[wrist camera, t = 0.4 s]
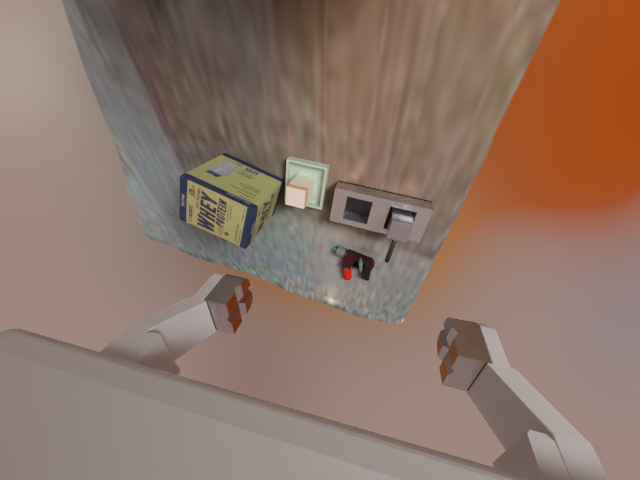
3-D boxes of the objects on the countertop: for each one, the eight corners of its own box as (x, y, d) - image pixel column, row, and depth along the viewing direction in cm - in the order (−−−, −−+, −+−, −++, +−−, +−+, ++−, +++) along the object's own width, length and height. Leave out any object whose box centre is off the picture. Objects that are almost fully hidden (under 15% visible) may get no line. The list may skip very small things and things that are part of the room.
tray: (289, 156, 55) (286, 158, 54) (329, 164, 54) (327, 167, 53) (287, 197, 61) (284, 201, 60) (323, 206, 60) (321, 209, 59)
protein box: (275, 214, 65) (246, 250, 53) (219, 189, 65) (177, 219, 53) (285, 179, 59) (255, 210, 47) (223, 151, 59) (177, 174, 46)
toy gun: (335, 240, 65) (331, 251, 62) (379, 258, 65) (378, 270, 61) (324, 266, 71) (320, 278, 67) (364, 282, 71) (362, 295, 67)
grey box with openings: (338, 180, 56) (330, 196, 49) (431, 201, 53) (436, 221, 46) (329, 231, 64) (321, 250, 57) (410, 251, 61) (411, 274, 54)
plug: (298, 172, 57) (286, 186, 50) (316, 176, 56) (305, 190, 50) (297, 189, 59) (285, 204, 53) (314, 193, 58) (303, 209, 52)
